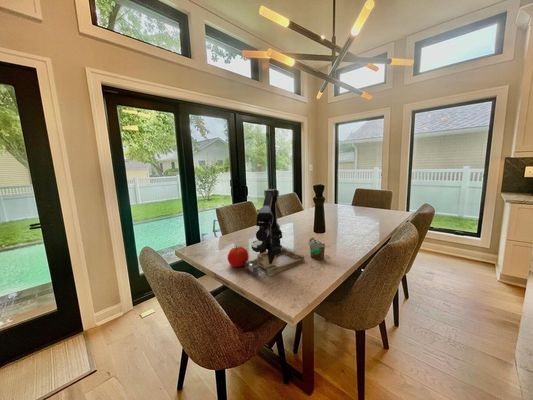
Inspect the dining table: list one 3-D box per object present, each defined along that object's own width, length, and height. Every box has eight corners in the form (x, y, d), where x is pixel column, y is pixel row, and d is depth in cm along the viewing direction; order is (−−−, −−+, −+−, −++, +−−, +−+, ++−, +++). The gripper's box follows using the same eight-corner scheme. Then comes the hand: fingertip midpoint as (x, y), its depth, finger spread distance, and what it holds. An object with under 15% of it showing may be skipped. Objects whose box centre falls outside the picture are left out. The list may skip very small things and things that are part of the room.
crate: (257, 264, 120) (257, 254, 119) (269, 260, 125) (269, 250, 124) (264, 268, 115) (263, 257, 114) (276, 264, 120) (276, 253, 119)
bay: (248, 264, 123) (248, 259, 123) (283, 252, 138) (283, 247, 138) (267, 276, 109) (267, 271, 109) (304, 261, 124) (304, 256, 124)
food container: (304, 254, 134) (304, 238, 132) (313, 252, 136) (313, 237, 134) (316, 262, 122) (315, 245, 121) (325, 260, 124) (325, 243, 123)
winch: (243, 270, 117) (243, 259, 116) (253, 266, 121) (252, 256, 120) (257, 279, 107) (256, 267, 106) (267, 275, 111) (266, 263, 110)
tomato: (239, 258, 131) (238, 242, 130) (253, 263, 124) (252, 246, 122) (223, 266, 122) (222, 248, 121) (237, 272, 115) (236, 253, 113)
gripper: (243, 233, 120) (245, 260, 122) (263, 242, 105) (265, 273, 108) (260, 229, 126) (261, 255, 129) (281, 237, 111) (282, 266, 114)
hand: (266, 262), depth 120 cm, fingers closed on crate, 6 cm apart
